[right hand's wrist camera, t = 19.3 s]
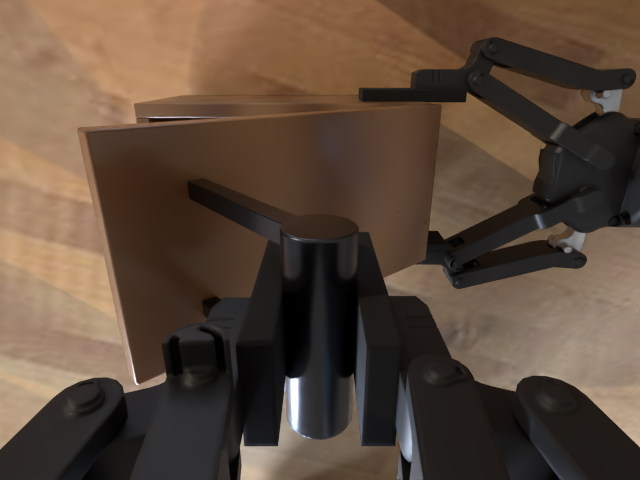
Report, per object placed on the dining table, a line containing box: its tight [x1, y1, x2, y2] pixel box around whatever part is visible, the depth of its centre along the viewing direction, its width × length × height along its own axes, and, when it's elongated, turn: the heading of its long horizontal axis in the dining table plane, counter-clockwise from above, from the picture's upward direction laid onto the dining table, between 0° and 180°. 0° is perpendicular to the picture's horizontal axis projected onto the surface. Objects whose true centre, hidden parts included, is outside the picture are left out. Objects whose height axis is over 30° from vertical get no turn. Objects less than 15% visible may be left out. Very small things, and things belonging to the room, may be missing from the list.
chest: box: [134, 96, 430, 124], centre depth 31 cm, size 18×10×10 cm, turn 90°
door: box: [78, 104, 442, 440], centre depth 17 cm, size 18×10×9 cm
